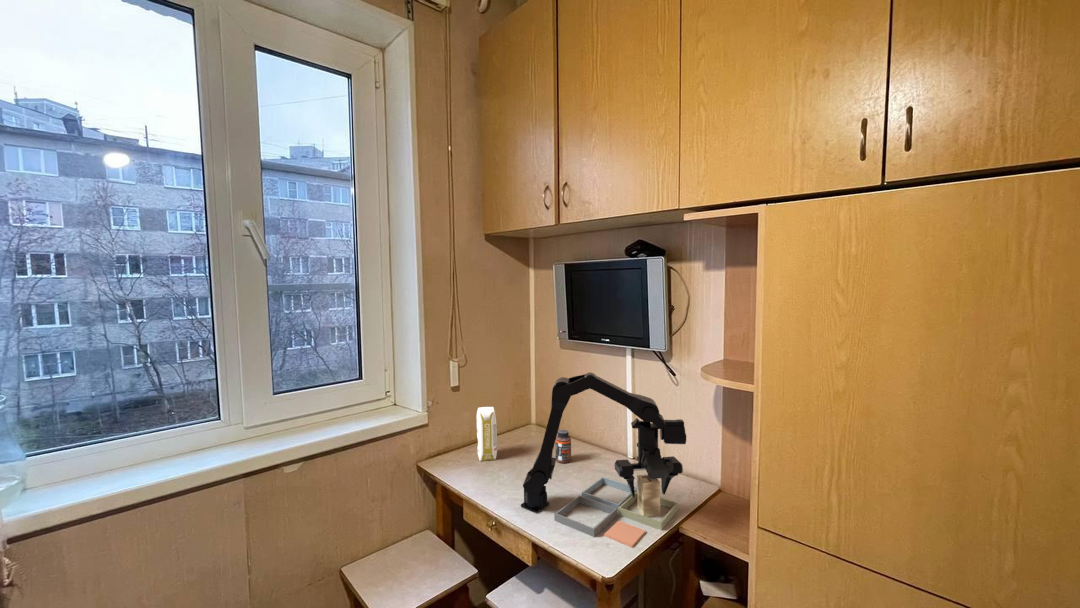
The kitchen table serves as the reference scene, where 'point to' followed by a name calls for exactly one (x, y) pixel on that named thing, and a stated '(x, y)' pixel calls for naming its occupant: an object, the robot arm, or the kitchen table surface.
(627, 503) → the tray olive
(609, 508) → the tray charcoal
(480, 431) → the juice carton
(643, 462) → the robot arm
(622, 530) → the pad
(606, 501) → the tray slate
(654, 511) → the letter block
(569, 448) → the supplement bottle
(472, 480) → the kitchen table surface
